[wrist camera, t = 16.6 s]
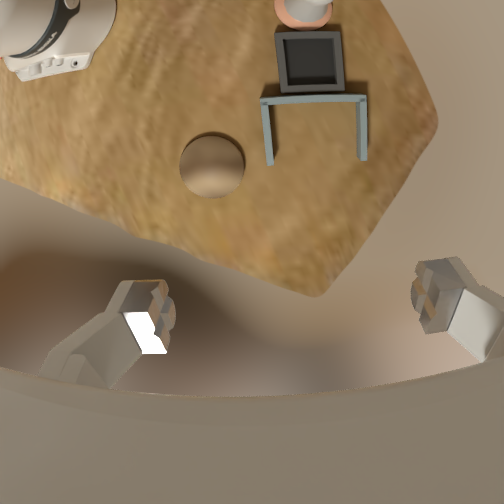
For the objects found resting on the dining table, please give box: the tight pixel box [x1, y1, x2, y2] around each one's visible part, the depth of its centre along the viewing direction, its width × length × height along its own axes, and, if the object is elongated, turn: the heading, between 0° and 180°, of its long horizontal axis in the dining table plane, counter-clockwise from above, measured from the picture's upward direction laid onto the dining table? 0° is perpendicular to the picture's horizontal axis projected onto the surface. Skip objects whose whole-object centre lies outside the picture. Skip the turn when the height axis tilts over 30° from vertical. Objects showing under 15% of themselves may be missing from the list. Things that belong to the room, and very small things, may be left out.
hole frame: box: [274, 31, 345, 93], centre depth 37 cm, size 9×9×2 cm
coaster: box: [274, 0, 332, 31], centre depth 33 cm, size 8×8×1 cm
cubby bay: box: [260, 93, 367, 166], centre depth 42 cm, size 10×15×2 cm, turn 97°
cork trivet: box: [180, 136, 244, 198], centre depth 47 cm, size 10×10×1 cm
